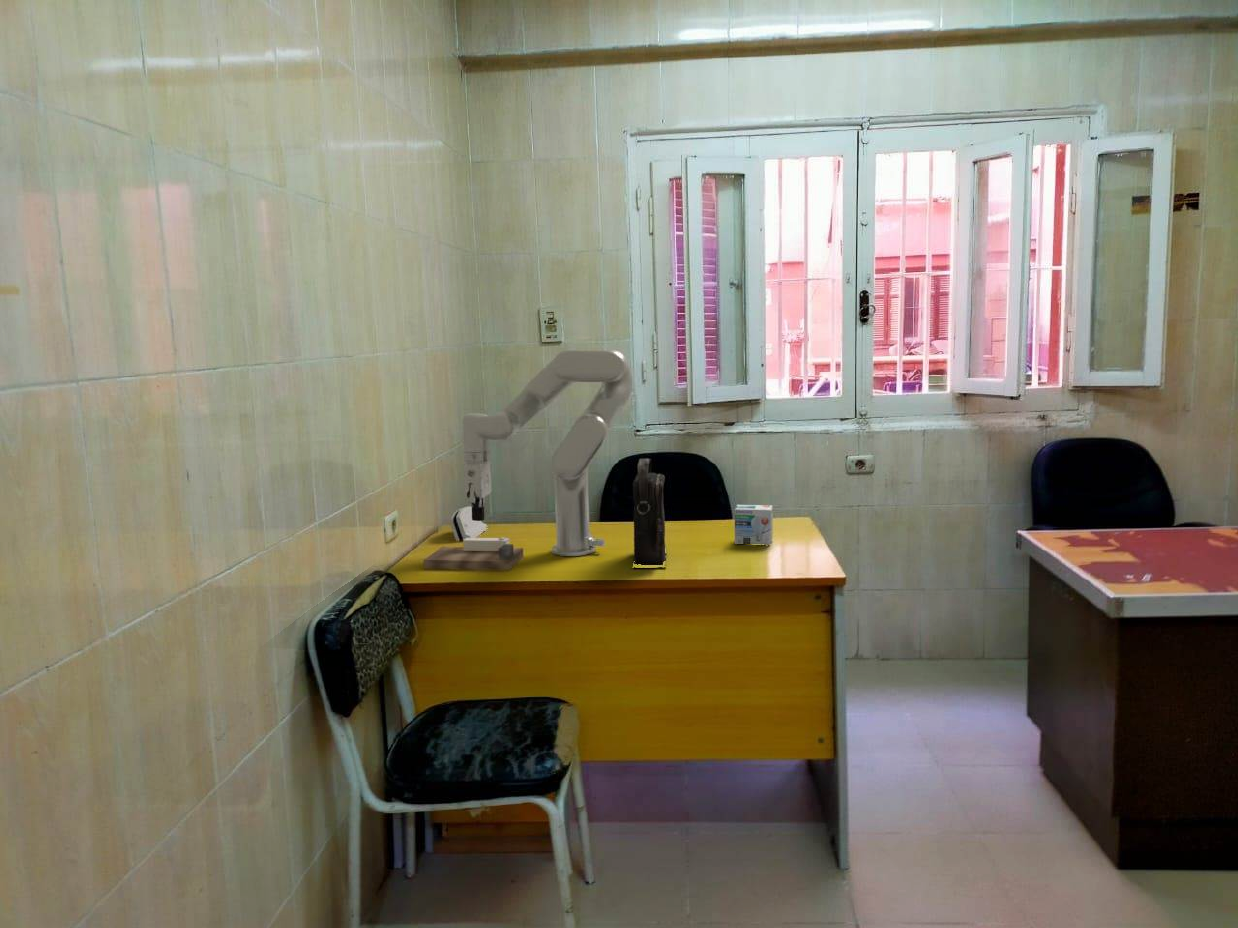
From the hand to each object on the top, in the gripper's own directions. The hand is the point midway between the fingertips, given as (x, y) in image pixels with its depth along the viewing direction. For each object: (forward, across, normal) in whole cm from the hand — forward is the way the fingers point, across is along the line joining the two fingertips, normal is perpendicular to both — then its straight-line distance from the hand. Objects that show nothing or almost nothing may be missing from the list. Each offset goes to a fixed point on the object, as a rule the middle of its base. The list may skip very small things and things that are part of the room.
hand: (478, 520), depth 251 cm
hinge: (+10, +22, +11) cm, 27 cm away
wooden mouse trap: (+10, -10, -2) cm, 14 cm away
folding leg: (+7, -6, -4) cm, 10 cm away
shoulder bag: (+8, -2, -50) cm, 51 cm away
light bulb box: (+8, +17, -78) cm, 80 cm away
